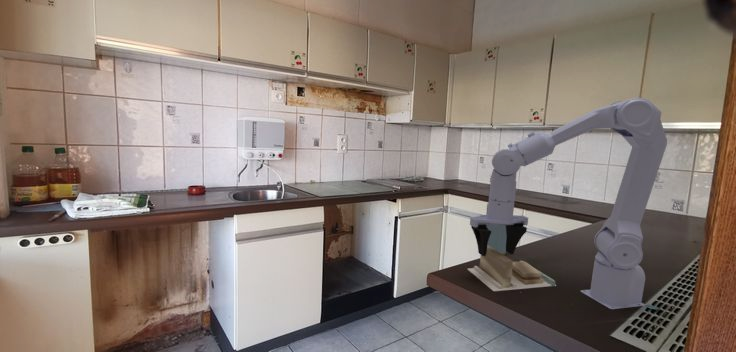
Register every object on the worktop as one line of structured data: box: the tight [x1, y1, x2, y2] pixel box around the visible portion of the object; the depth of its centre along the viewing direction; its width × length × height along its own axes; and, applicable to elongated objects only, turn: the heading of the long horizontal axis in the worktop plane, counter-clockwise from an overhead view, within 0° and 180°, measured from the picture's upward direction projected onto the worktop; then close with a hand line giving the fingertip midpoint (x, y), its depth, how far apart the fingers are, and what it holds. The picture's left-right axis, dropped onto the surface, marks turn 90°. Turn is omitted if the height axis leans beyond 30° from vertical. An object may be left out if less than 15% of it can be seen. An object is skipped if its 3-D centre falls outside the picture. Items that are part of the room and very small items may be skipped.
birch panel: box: [478, 246, 514, 288], centre depth 82 cm, size 2×10×6 cm, turn 13°
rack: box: [467, 260, 557, 292], centre depth 84 cm, size 17×12×2 cm
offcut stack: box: [512, 261, 544, 285], centre depth 84 cm, size 6×9×2 cm, turn 13°
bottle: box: [485, 203, 507, 256], centre depth 99 cm, size 7×7×15 cm
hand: (495, 253), depth 82 cm, fingers open, 7 cm apart
